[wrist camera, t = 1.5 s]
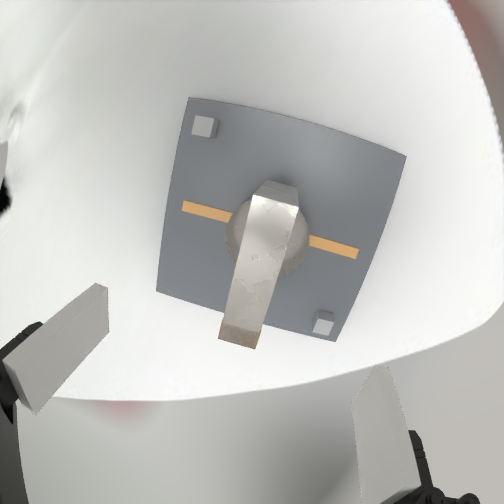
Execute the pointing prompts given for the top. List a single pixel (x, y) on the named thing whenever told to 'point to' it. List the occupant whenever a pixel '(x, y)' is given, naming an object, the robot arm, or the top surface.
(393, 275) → the top surface
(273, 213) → the grey block knob
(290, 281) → the post plate
